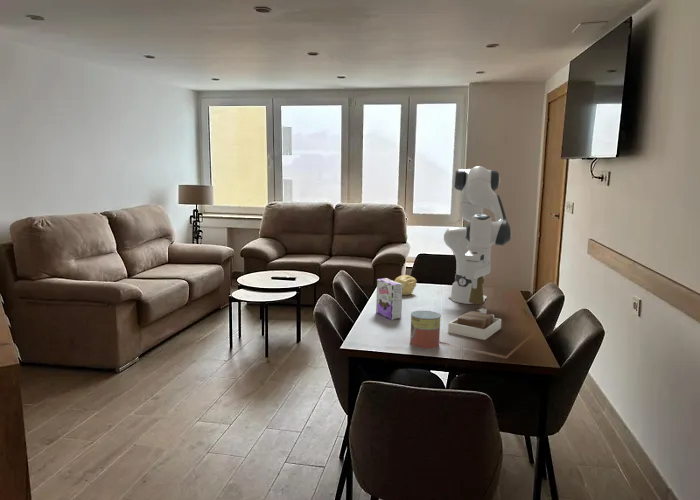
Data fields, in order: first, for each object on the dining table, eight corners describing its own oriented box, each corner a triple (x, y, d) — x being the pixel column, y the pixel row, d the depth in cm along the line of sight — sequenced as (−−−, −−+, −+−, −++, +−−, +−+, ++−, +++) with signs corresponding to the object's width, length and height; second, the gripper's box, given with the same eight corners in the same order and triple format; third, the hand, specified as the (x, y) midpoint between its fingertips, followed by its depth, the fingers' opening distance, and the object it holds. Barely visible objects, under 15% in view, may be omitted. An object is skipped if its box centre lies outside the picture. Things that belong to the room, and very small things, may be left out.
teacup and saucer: (496, 318, 234) (496, 310, 233) (487, 321, 228) (487, 312, 228) (480, 314, 240) (480, 306, 240) (470, 317, 235) (471, 308, 234)
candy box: (375, 312, 238) (376, 278, 235) (386, 311, 240) (387, 277, 238) (390, 320, 226) (392, 284, 223) (401, 318, 228) (403, 283, 226)
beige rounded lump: (405, 297, 269) (405, 277, 267) (388, 293, 278) (389, 274, 276) (418, 294, 277) (419, 275, 275) (402, 290, 285) (403, 271, 284)
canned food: (407, 339, 199) (408, 310, 197) (435, 339, 200) (436, 310, 198) (412, 349, 188) (414, 318, 186) (442, 349, 189) (444, 318, 187)
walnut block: (469, 324, 219) (470, 310, 218) (492, 328, 213) (493, 314, 212) (457, 332, 207) (457, 317, 206) (480, 336, 202) (481, 322, 201)
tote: (465, 323, 223) (466, 312, 222) (500, 330, 214) (501, 319, 213) (447, 334, 207) (448, 322, 206) (484, 342, 198) (485, 330, 197)
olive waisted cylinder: (486, 302, 208) (488, 276, 207) (479, 304, 204) (480, 278, 202) (473, 299, 213) (474, 274, 211) (466, 301, 208) (467, 275, 207)
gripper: (481, 250, 216) (479, 281, 218) (462, 256, 199) (460, 290, 201) (495, 252, 212) (493, 284, 214) (478, 257, 195) (476, 292, 197)
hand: (477, 287), depth 207 cm, fingers closed on olive waisted cylinder, 4 cm apart
